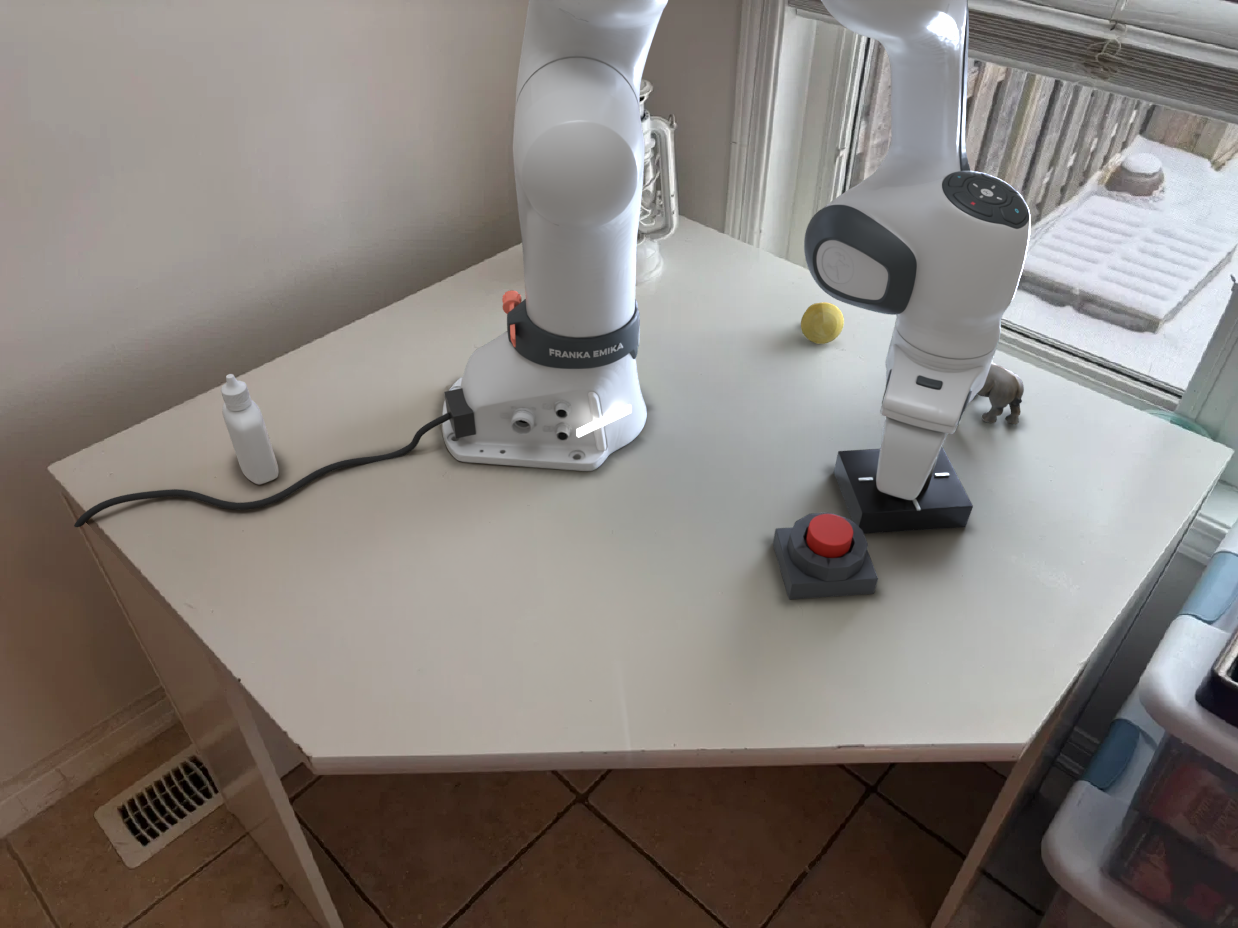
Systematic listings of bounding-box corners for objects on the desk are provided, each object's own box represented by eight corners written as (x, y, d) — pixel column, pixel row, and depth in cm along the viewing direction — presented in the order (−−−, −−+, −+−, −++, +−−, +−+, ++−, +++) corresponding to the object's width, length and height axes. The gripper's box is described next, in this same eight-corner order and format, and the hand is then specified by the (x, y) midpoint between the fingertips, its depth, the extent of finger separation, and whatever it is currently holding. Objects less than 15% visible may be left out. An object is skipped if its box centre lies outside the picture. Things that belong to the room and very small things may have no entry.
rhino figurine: (933, 358, 117) (945, 316, 113) (1025, 421, 108) (1041, 378, 104) (908, 369, 115) (920, 327, 111) (999, 434, 107) (1015, 391, 103)
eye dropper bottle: (285, 449, 103) (258, 357, 95) (277, 485, 99) (248, 392, 91) (242, 451, 103) (212, 359, 95) (233, 488, 99) (200, 395, 91)
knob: (841, 346, 118) (848, 311, 115) (799, 345, 118) (805, 311, 115) (836, 324, 122) (842, 290, 118) (794, 323, 122) (800, 289, 118)
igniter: (788, 600, 89) (794, 571, 86) (772, 543, 94) (777, 514, 91) (874, 594, 90) (882, 565, 87) (853, 538, 95) (860, 509, 92)
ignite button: (812, 559, 88) (814, 546, 87) (801, 528, 91) (804, 514, 90) (855, 557, 88) (858, 544, 87) (843, 525, 91) (846, 512, 90)
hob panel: (857, 535, 95) (863, 512, 93) (833, 471, 102) (838, 448, 100) (966, 528, 96) (974, 505, 94) (934, 465, 103) (942, 443, 101)
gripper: (926, 290, 95) (896, 400, 104) (878, 412, 81) (849, 526, 90) (992, 305, 93) (956, 417, 102) (955, 433, 79) (917, 548, 88)
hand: (905, 469), depth 96 cm, fingers closed, pressing on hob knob
